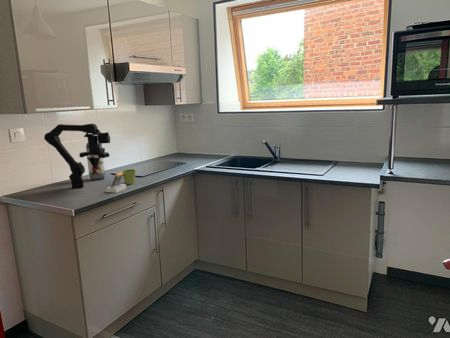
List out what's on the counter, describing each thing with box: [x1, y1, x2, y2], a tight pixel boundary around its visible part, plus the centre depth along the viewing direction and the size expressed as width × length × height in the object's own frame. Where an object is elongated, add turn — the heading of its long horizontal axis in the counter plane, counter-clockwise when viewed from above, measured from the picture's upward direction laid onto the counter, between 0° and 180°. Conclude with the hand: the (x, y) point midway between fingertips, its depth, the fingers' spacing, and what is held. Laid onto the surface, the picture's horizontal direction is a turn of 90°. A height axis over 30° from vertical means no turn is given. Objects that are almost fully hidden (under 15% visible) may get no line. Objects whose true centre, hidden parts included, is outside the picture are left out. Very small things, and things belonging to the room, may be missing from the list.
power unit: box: [106, 182, 127, 193], centre depth 212 cm, size 7×10×4 cm
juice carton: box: [85, 142, 106, 181], centre depth 241 cm, size 9×10×27 cm
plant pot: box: [121, 169, 137, 185], centre depth 227 cm, size 9×9×9 cm
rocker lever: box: [112, 172, 123, 186], centre depth 210 cm, size 2×5×8 cm, turn 162°
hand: (95, 168), depth 220 cm, fingers closed
